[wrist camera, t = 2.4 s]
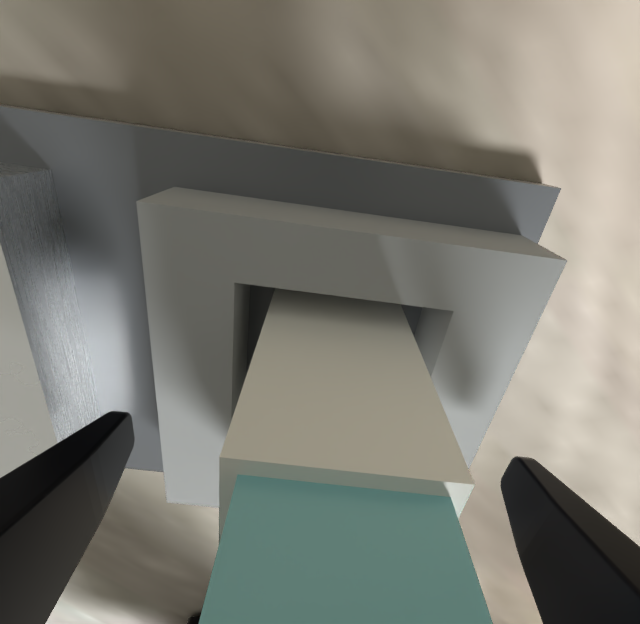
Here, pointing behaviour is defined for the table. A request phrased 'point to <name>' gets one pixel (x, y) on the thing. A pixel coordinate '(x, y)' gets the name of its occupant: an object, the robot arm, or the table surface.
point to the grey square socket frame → (331, 279)
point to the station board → (228, 178)
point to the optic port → (38, 323)
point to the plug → (341, 478)
